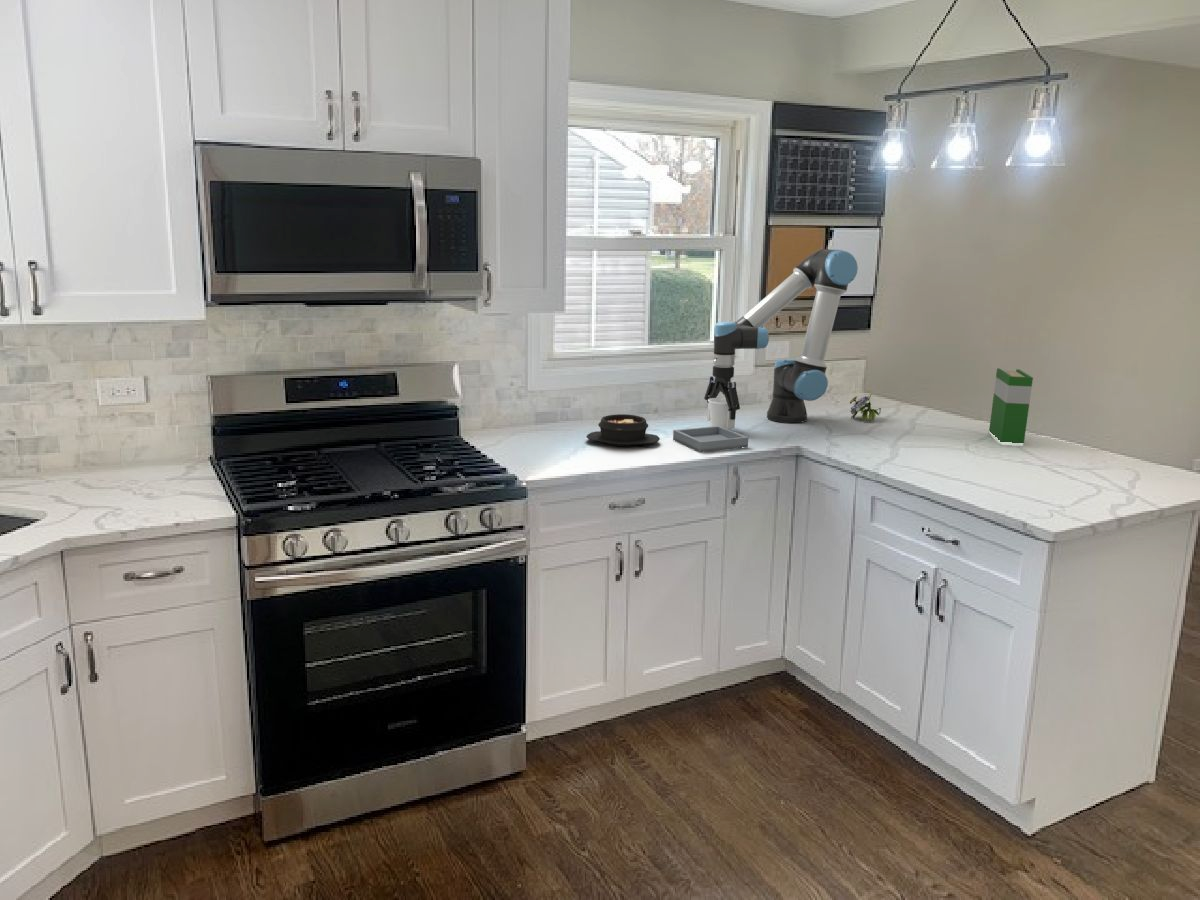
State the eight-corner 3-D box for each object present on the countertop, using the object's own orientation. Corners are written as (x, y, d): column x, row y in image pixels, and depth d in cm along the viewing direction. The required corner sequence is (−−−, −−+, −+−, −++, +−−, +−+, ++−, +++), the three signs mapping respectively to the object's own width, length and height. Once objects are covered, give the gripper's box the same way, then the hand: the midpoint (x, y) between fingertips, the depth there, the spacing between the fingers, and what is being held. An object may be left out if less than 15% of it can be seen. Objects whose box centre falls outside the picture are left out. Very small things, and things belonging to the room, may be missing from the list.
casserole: (581, 447, 298) (581, 422, 296) (592, 434, 316) (592, 411, 314) (655, 451, 293) (656, 426, 291) (662, 438, 311) (663, 415, 309)
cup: (733, 427, 329) (735, 398, 326) (734, 433, 319) (736, 403, 316) (706, 426, 330) (707, 397, 327) (706, 432, 320) (708, 402, 317)
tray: (718, 435, 317) (719, 425, 316) (747, 447, 300) (748, 437, 299) (673, 439, 309) (673, 430, 308) (700, 452, 293) (700, 442, 292)
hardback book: (988, 433, 325) (997, 368, 319) (1010, 435, 324) (1019, 369, 318) (1000, 445, 308) (1009, 376, 302) (1023, 446, 307) (1032, 377, 301)
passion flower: (852, 432, 348) (845, 404, 353) (880, 427, 347) (873, 399, 352) (855, 421, 338) (848, 392, 342) (884, 417, 337) (877, 388, 341)
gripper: (696, 361, 328) (694, 417, 333) (733, 372, 306) (730, 432, 311) (714, 360, 331) (711, 416, 336) (752, 370, 309) (748, 430, 314)
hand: (720, 424), depth 324 cm, fingers open, 13 cm apart
